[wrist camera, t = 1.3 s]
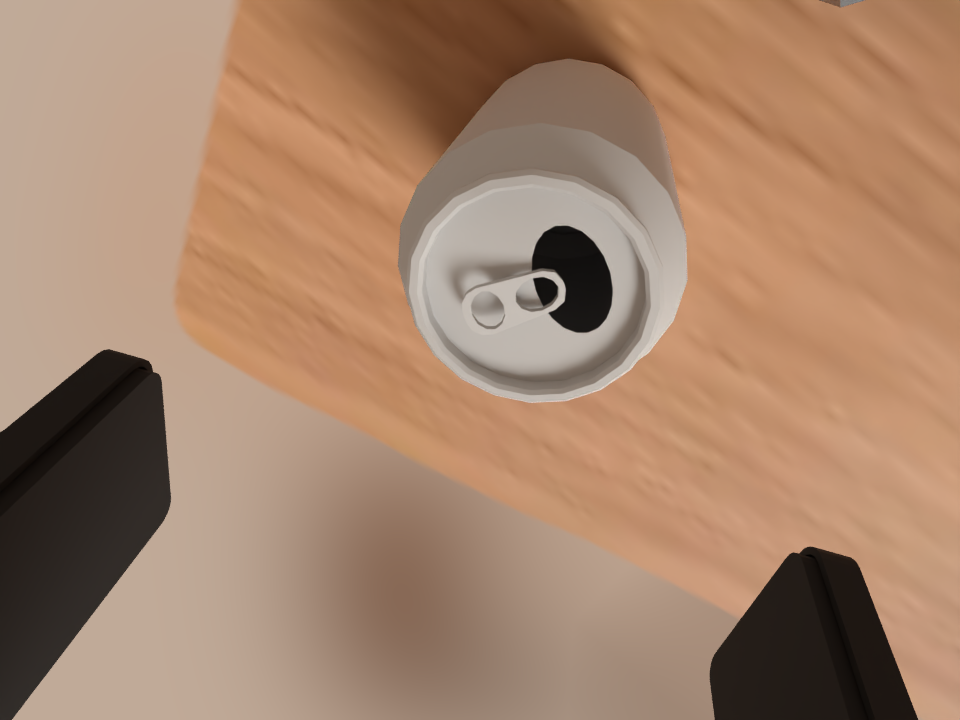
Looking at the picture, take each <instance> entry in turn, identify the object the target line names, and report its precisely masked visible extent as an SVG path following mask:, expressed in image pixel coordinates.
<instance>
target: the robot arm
mask: <svg viewBox="0 0 960 720" xmlns="http://www.w3.org/2000/svg"><path fill="white" fill-rule="evenodd" d="M170 502H171V493H170V481H169V469H168V456H167V445H166V431H165V418H164V405H163V394H162V382H161V377H160V375H159V374H157V373H154V372H153V370H152V366H151V364H150V362H149V361H147V360H145V359H142V358H138V357H134V356H131V355H127V354H124V353H120V352H117V351H113V350H110V349H108V350H103V351H101V352H100V353H98V354H97V355H95V356H94V357H93V358H92V359H90V360H89V361H88V362H87V363H86V364H85V365H83V366H82V367H81V368H79V369H78V370H77V371H76V372H75V373H73V374H72V375H71V376H70V377H68V378H67V379H66V380H65V381H64V382H62V383H61V384H60V385H59V386H57V387H56V388H55V389H54V390H53V391H51V392H50V393H49V394H48V395H46V396H45V397H44V398H43V399H41V400H40V401H39V402H38V403H37V404H35V405H34V406H33V407H32V408H30V409H29V410H28V411H27V412H26V413H25V414H23V415H22V416H21V417H19V418H18V419H17V420H16V421H15V422H13V423H12V424H11V425H10V426H8V427H7V428H6V429H5V430H3V431H2V432H0V720H12V719H13V717H14V716H15V715H16V713H17V712H18V711H19V710H20V708H21V707H22V706H23V704H24V703H25V701H26V700H27V699H28V698H29V696H30V695H31V694H32V692H33V691H34V690H35V688H36V687H37V686H38V685H39V683H40V682H41V681H42V679H43V678H44V677H45V676H46V674H47V673H48V672H49V670H50V669H51V668H52V666H53V665H54V664H55V662H56V661H57V660H58V658H59V657H60V656H61V655H62V653H63V652H64V651H65V649H66V648H67V647H68V645H69V644H70V643H71V642H72V640H73V639H74V638H75V636H76V635H77V634H78V632H79V631H80V630H81V628H82V627H83V626H84V624H85V623H86V622H87V621H88V619H89V618H90V616H91V615H92V614H93V613H94V611H95V610H96V609H97V607H98V606H99V605H100V604H101V602H102V601H103V600H104V598H105V597H106V596H107V594H108V593H109V591H111V589H112V588H113V586H114V585H115V584H116V583H117V581H118V580H119V579H120V577H121V576H122V575H123V573H124V572H125V571H126V570H127V568H128V567H129V566H130V564H131V563H132V562H133V560H134V559H135V558H136V556H137V555H138V554H139V552H140V551H141V550H142V549H143V547H144V546H145V545H146V543H147V542H148V541H149V539H150V538H151V537H152V535H153V534H154V533H155V532H156V530H157V529H158V528H159V526H160V525H161V524H162V522H163V521H164V519H165V517H166V515H167V513H168V510H169V507H170ZM710 685H711V693H712V701H713V708H714V716H715V720H918V718H917V715H916V713H915V710H914V708H913V705H912V702H911V700H910V697H909V695H908V692H907V689H906V687H905V684H904V682H903V679H902V676H901V674H900V671H899V669H898V666H897V663H896V661H895V658H894V656H893V653H892V650H891V648H890V645H889V643H888V640H887V638H886V635H885V632H884V630H883V627H882V625H881V622H880V619H879V617H878V614H877V612H876V609H875V606H874V604H873V601H872V599H871V596H870V593H869V591H868V588H867V586H866V583H865V580H864V578H863V575H862V573H861V570H860V568H859V566H858V564H857V562H856V561H855V560H853V559H852V558H850V557H847V556H843V555H840V554H836V553H833V552H829V551H825V550H822V549H818V548H815V547H807V548H805V549H803V550H802V551H801V552H800V553H799V554H798V553H791V554H790V555H789V556H788V557H787V558H786V559H785V560H784V562H783V563H782V564H781V566H780V567H779V568H778V570H777V571H776V572H775V574H774V575H773V576H772V578H771V579H770V580H769V582H768V583H767V584H766V586H765V587H764V589H763V590H762V591H761V593H760V594H759V595H758V597H757V598H756V599H755V601H754V602H753V603H752V605H751V606H750V607H749V609H748V610H747V611H746V613H745V614H744V615H743V617H742V618H741V619H740V621H739V622H738V623H737V625H736V626H735V628H734V629H733V630H732V632H731V633H730V634H729V636H728V637H727V639H726V640H725V641H724V642H723V644H722V645H721V647H720V648H719V649H718V650H717V652H716V653H715V655H714V657H713V659H712V662H711V668H710Z"/></svg>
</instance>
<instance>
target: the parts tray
mask: <svg viewBox="0 0 960 720" xmlns="http://www.w3.org/2000/svg"><path fill="white" fill-rule="evenodd" d="M820 1H823V2H826V3H829V4H832V5H835V6H838V7H844V6H847V5H850V4H854V3H857V2H860V1H864V0H820Z"/></svg>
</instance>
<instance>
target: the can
mask: <svg viewBox="0 0 960 720" xmlns="http://www.w3.org/2000/svg"><path fill="white" fill-rule="evenodd" d="M398 267H399V271H400V275H401V279H402V282H403V286H404V290H405V294H406V297H407V301H408V305H409V306H410V308H411V312H412V315H413V319H414V323H415V326H416V327H417V329H418V330H419V332H420V334H421V335H422V337H423V338H424V340H425V341H426V343H427V345H428V346H429V348H430V349H431V351H432V352H433V354H434V355H435V356H436V357H437V358H438V359H439V360H440V361H441V362H443V363H444V364H445V365H446V366H447V367H448V368H449V369H451V370H452V371H453V372H454V373H455V374H456V375H457V376H458V377H460V378H461V379H462V380H464V381H466V382H468V383H470V384H472V385H474V386H476V387H478V388H480V389H482V390H484V391H486V392H488V393H490V394H493V395H496V396H500V397H505V398H510V399H514V400H519V401H524V402H529V403H534V402H556V401H568V400H571V399H574V398H577V397H580V396H584V395H587V394H590V393H593V392H596V391H599V390H602V389H603V388H604V387H606V386H607V385H609V384H610V383H612V382H613V381H615V380H616V379H618V378H619V377H621V376H622V375H624V374H625V373H627V372H628V371H629V370H631V369H632V367H633V366H634V365H635V364H636V362H637V361H638V360H639V359H641V358H642V357H644V356H645V355H646V354H648V353H649V352H650V350H651V349H652V348H653V347H654V345H655V344H656V343H657V341H658V340H659V339H660V338H661V336H662V335H663V334H664V332H665V331H666V330H667V329H668V327H669V326H670V325H671V323H672V322H673V321H674V318H675V315H676V312H677V309H678V306H679V303H680V300H681V297H682V295H683V292H684V289H685V286H686V283H687V251H686V233H685V228H684V224H683V219H682V214H681V209H680V204H679V200H678V195H677V190H676V185H675V180H674V175H673V171H672V166H671V161H670V156H669V151H668V147H667V142H666V137H665V134H664V132H663V129H662V127H661V124H660V121H659V119H658V116H657V114H656V111H655V109H654V106H653V105H652V104H651V103H650V101H649V100H648V99H647V98H646V97H645V96H644V95H643V93H642V92H641V91H640V90H639V89H638V88H637V86H636V85H635V84H634V83H633V82H632V81H631V80H629V79H628V78H626V77H624V76H622V75H620V74H619V73H617V72H615V71H613V70H612V69H610V68H608V67H606V66H604V65H603V64H598V63H592V62H586V61H580V60H574V59H563V60H557V61H551V62H546V63H540V64H535V65H533V66H531V67H529V68H527V69H526V70H524V71H522V72H520V73H518V74H517V75H515V76H513V77H511V78H509V79H508V80H506V81H505V82H504V83H503V84H502V85H501V86H500V87H499V88H498V89H497V90H496V92H495V93H494V94H493V95H492V96H491V97H490V98H489V99H488V100H487V101H486V102H485V104H484V105H483V106H482V107H481V108H480V110H479V111H478V112H477V113H476V114H475V116H474V117H473V118H472V119H471V121H470V122H469V123H468V124H467V125H466V127H465V128H464V129H463V130H462V132H461V133H460V134H459V135H458V136H457V138H456V139H455V140H454V141H453V143H452V144H451V145H450V146H449V147H448V149H447V150H446V151H445V152H444V154H443V155H442V156H441V157H440V158H439V160H438V161H437V162H436V163H435V165H434V166H433V167H432V168H431V170H430V171H429V172H428V173H427V174H426V176H425V177H424V178H423V179H422V181H421V182H420V183H419V184H418V185H417V188H416V190H415V192H414V195H413V197H412V199H411V202H410V204H409V206H408V209H407V211H406V213H405V216H404V218H403V220H402V223H401V226H400V243H399V259H398Z"/></svg>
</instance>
